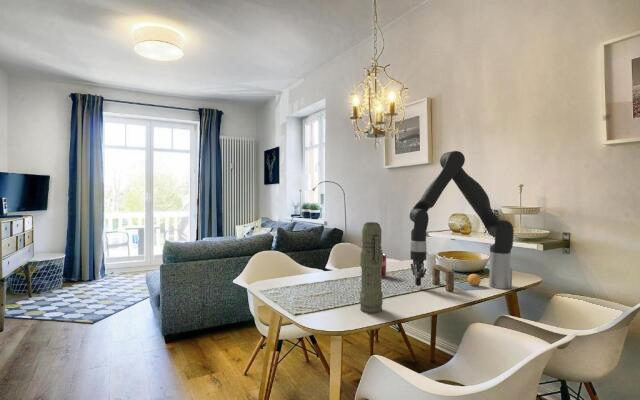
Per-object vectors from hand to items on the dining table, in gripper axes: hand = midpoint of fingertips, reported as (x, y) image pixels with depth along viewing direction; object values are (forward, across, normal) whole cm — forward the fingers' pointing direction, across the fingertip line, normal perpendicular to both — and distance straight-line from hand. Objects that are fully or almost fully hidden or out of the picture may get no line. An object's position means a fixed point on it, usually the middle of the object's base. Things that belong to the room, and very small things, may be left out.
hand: (418, 285), depth 174 cm
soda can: (+2, +27, +10) cm, 29 cm away
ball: (-1, 0, -30) cm, 30 cm away
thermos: (+2, -25, +32) cm, 41 cm away
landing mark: (+2, 0, -27) cm, 27 cm away
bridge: (+2, 0, -13) cm, 13 cm away
